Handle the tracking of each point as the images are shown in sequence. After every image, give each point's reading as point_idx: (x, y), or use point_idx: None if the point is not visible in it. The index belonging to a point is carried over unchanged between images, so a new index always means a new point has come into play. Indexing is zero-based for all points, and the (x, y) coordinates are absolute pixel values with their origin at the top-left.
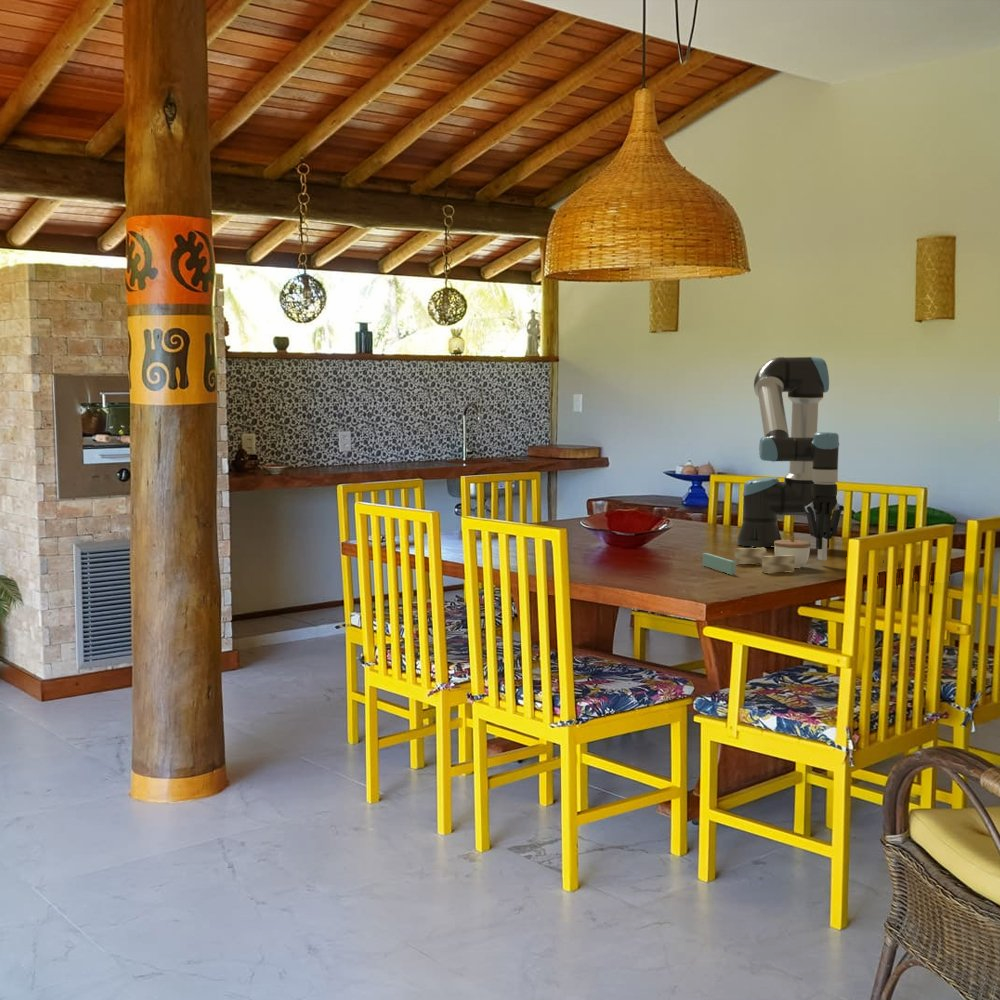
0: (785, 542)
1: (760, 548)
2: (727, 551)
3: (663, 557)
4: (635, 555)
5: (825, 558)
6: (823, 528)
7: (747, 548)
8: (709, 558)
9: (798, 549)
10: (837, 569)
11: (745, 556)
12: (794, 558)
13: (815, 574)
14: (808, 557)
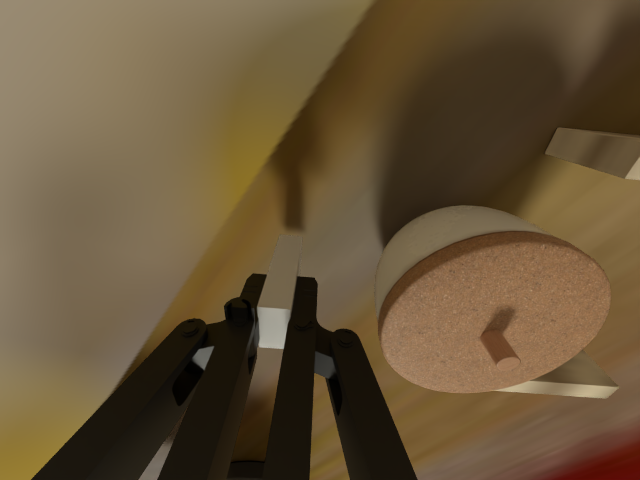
0: (569, 321)
1: None
2: None
3: (583, 449)
4: (603, 472)
5: (285, 239)
6: (243, 406)
7: (563, 388)
8: None
9: (537, 230)
10: (288, 129)
11: None
12: (629, 139)
13: (532, 6)
14: (405, 230)
